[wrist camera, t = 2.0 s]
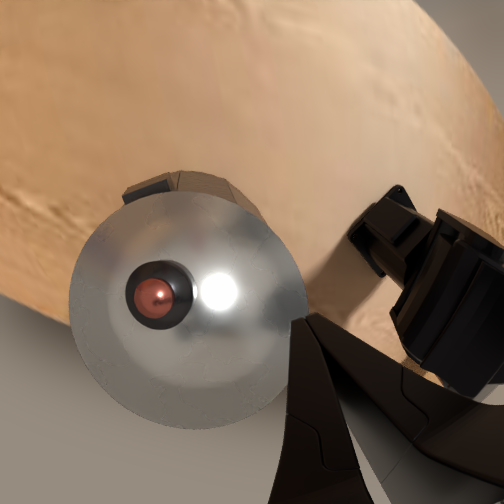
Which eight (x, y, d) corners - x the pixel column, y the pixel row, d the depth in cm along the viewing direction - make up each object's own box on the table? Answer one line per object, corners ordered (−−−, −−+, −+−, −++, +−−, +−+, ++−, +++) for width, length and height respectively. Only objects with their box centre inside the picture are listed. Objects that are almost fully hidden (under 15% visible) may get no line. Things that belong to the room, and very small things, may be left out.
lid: (54, 240, 13) (16, 239, 9) (261, 164, 13) (268, 139, 10) (130, 432, 13) (112, 465, 10) (328, 382, 13) (349, 413, 10)
